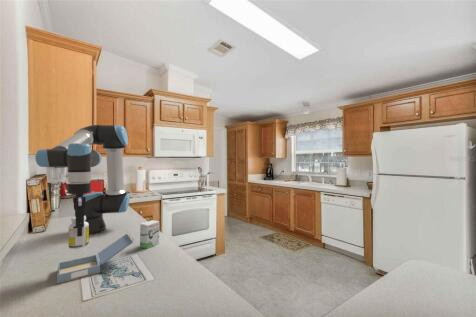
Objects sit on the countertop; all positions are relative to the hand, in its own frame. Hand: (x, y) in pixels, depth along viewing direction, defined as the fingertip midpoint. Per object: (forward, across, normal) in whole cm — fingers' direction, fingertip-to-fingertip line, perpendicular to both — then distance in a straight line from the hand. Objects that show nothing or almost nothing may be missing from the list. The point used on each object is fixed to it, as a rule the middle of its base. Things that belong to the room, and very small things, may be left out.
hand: (79, 241), depth 88 cm
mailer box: (+12, 0, 0) cm, 12 cm away
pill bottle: (+2, 0, 0) cm, 2 cm away
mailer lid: (+4, 0, +12) cm, 13 cm away
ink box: (+12, -11, +30) cm, 34 cm away
